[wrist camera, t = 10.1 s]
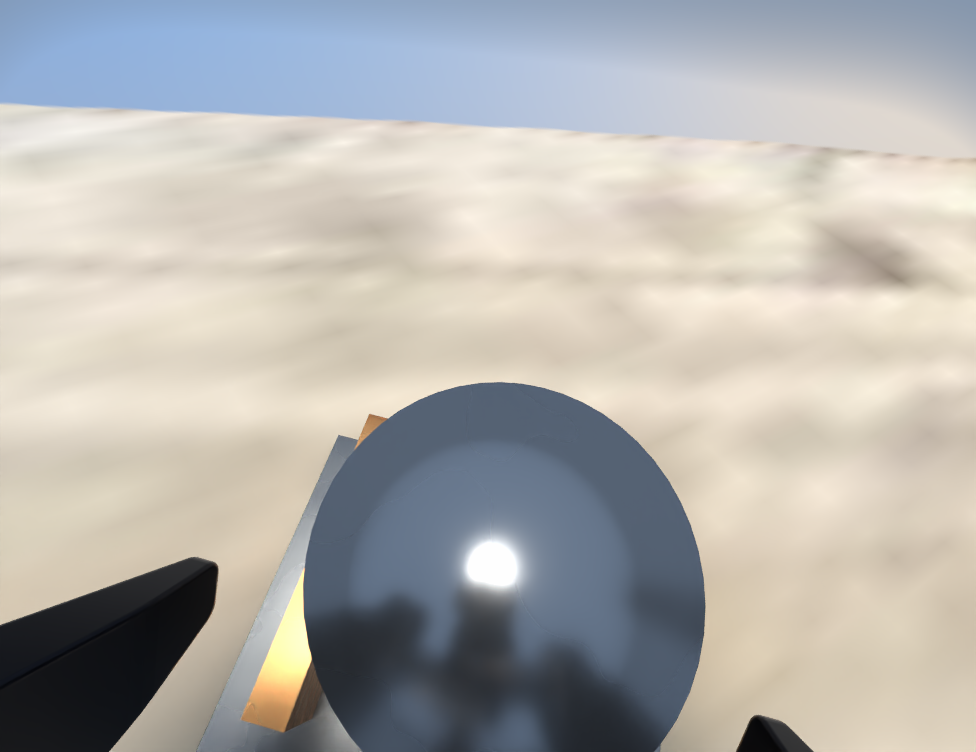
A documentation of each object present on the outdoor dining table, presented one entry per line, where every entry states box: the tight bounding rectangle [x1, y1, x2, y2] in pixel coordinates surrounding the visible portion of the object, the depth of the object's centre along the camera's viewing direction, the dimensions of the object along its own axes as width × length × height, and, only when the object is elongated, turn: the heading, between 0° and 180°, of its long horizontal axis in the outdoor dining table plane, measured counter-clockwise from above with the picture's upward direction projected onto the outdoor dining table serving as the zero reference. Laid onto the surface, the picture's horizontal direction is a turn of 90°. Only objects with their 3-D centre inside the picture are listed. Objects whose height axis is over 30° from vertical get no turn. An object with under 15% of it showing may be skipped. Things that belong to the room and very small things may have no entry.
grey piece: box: [303, 382, 705, 752], centre depth 11 cm, size 5×5×13 cm
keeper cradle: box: [196, 414, 660, 752], centre depth 15 cm, size 13×14×4 cm
